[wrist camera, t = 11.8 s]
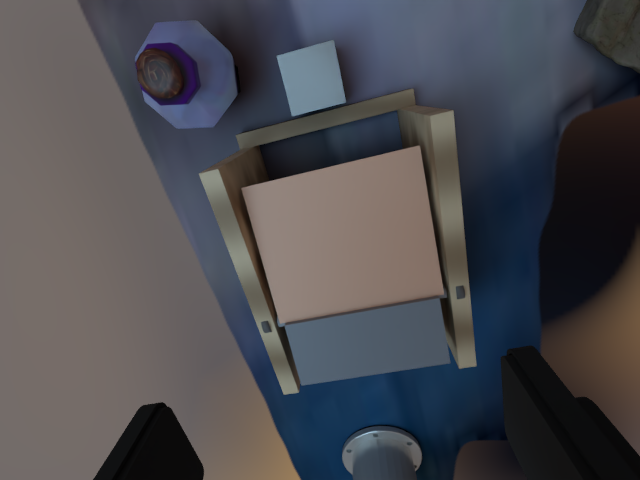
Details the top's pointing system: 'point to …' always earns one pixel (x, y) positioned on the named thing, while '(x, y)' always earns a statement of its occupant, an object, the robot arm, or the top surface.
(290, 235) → the trapdoor
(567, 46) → the top surface
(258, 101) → the top surface
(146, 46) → the potion bottle
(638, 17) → the marble piece
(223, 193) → the frame
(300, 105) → the cube
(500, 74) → the top surface
